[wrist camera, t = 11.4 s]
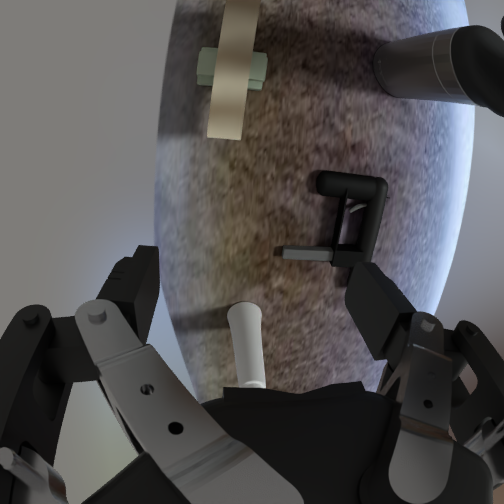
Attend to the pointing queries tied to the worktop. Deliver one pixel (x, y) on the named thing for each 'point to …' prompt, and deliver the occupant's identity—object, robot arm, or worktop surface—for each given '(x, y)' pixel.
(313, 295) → the worktop surface
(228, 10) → the bar
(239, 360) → the cosmetic bottle
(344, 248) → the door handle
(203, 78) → the ridge
